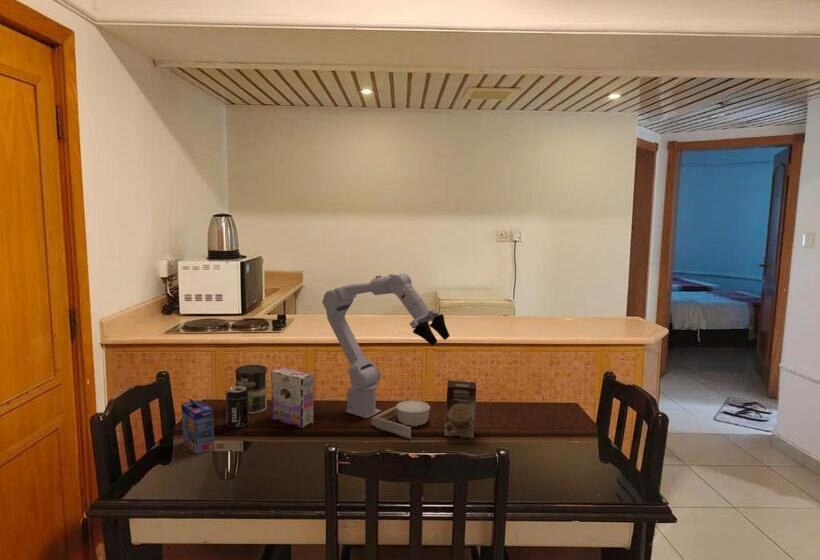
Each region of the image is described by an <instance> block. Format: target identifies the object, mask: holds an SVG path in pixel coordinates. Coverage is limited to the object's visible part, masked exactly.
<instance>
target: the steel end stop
mask: <svg viewBox="0 0 820 560" xmlns="http://www.w3.org/2000/svg"><path fill="white" fill-rule="evenodd" d="M375 427H377V428H380V429H383V430H386V431H389V432H391V433H395V434H397V435H400V436H399V437H401V436H402V437H401V438H404V437H406V438H405V439H407V438H410V439H411V437H412V433H411V432H412V426H406V425H403V424H401V423H398V422H395V421H391V420H385V419H382V418H378V417H377V418H376V424H375ZM391 433H390V434H391ZM397 435H396V436H397Z"/></svg>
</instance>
